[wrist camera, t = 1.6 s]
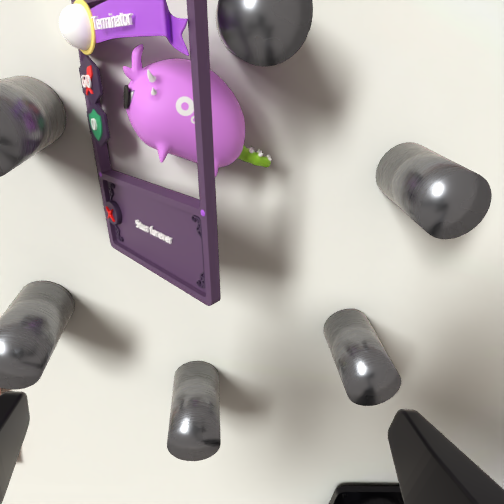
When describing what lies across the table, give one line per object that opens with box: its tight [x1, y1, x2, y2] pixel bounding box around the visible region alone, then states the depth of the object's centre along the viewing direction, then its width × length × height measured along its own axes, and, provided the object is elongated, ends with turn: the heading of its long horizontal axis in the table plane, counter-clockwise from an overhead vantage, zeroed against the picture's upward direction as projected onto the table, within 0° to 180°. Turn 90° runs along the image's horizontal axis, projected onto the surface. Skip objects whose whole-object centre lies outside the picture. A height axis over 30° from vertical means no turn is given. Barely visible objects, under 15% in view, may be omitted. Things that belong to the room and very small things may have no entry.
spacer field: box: [0, 0, 491, 461], centre depth 15 cm, size 17×19×4 cm
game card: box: [59, 0, 272, 306], centre depth 14 cm, size 7×5×9 cm
